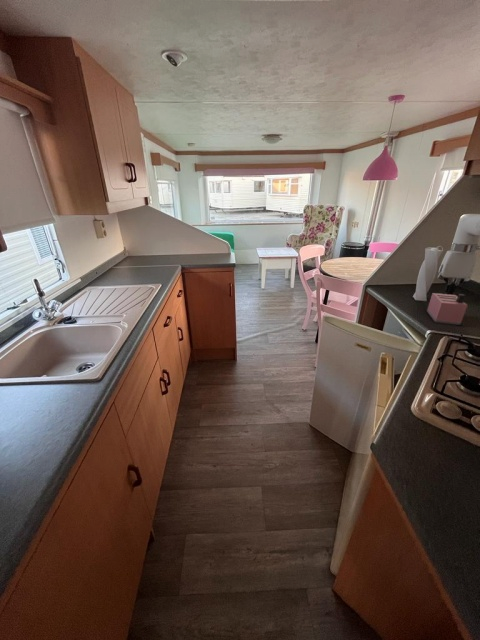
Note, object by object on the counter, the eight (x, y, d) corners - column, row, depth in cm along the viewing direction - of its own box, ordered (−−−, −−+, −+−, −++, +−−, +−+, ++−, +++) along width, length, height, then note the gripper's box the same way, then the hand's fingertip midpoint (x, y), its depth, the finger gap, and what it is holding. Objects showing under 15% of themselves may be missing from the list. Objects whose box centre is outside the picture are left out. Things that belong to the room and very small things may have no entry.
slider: (461, 300, 111) (464, 294, 110) (463, 302, 110) (466, 295, 108) (455, 300, 112) (457, 293, 111) (457, 301, 110) (459, 295, 109)
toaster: (449, 313, 123) (455, 294, 119) (460, 325, 112) (468, 305, 108) (426, 310, 126) (432, 292, 122) (435, 322, 114) (441, 302, 110)
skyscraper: (430, 302, 136) (448, 246, 124) (413, 300, 138) (429, 245, 126) (425, 297, 143) (441, 243, 131) (409, 295, 145) (424, 243, 133)
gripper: (482, 247, 103) (466, 292, 110) (437, 246, 108) (425, 289, 115) (491, 250, 97) (474, 298, 104) (443, 249, 101) (430, 294, 109)
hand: (448, 293), depth 109 cm, fingers closed
